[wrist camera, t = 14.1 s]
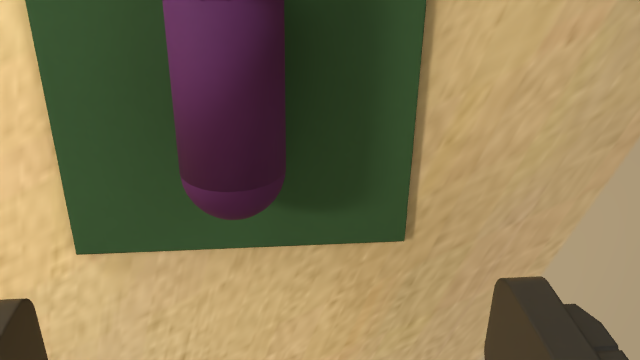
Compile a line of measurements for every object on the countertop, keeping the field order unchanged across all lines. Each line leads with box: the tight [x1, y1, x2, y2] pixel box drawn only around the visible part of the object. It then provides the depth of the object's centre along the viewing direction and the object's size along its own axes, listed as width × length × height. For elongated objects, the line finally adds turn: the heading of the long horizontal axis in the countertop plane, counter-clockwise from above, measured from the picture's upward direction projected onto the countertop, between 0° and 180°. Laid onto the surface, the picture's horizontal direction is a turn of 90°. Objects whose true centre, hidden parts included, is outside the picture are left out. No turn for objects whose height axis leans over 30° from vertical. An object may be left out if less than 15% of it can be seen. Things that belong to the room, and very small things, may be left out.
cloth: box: [25, 0, 426, 255], centre depth 26 cm, size 16×18×1 cm
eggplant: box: [162, 0, 286, 220], centre depth 23 cm, size 4×13×4 cm, turn 179°
